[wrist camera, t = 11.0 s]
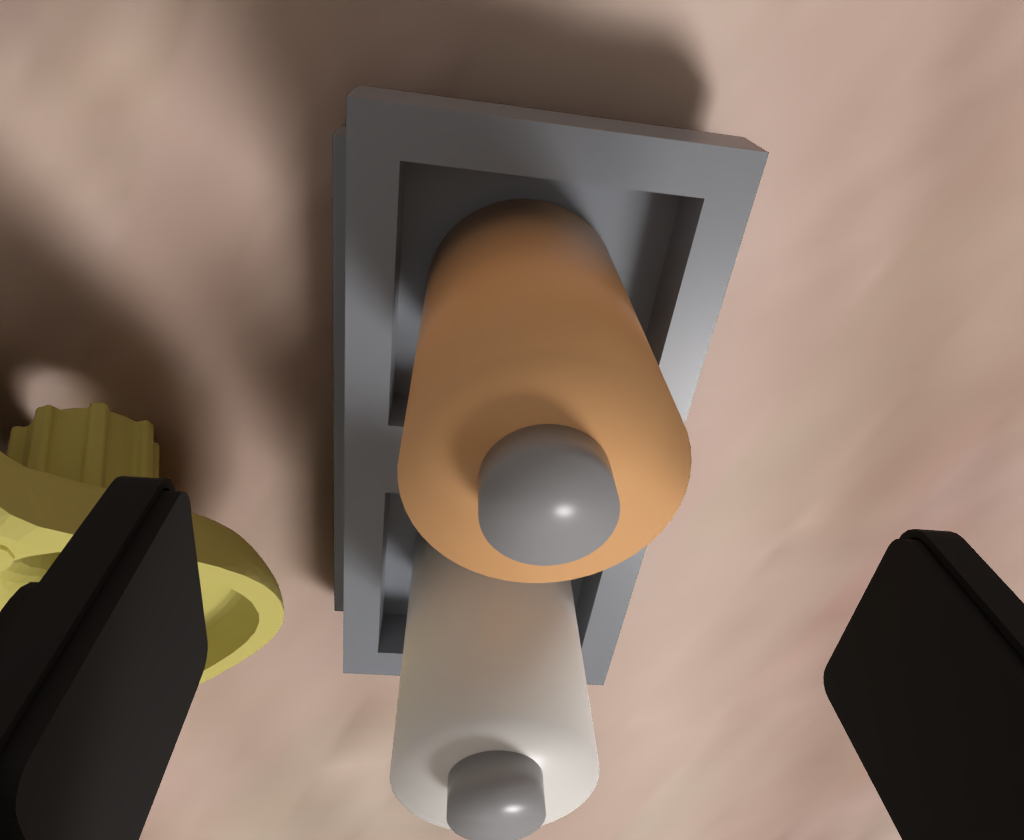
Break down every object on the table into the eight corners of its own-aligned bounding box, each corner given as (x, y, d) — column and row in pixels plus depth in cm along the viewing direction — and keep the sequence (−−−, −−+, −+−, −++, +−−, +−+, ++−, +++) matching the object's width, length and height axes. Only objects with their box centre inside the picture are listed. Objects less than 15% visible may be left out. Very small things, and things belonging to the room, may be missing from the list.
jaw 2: (551, 604, 22) (584, 873, 16) (410, 596, 22) (382, 869, 15) (576, 495, 20) (626, 756, 13) (418, 483, 19) (389, 747, 13)
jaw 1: (635, 213, 15) (748, 398, 9) (594, 384, 18) (660, 629, 11) (435, 186, 15) (401, 360, 8) (420, 366, 17) (384, 610, 11)
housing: (606, 623, 24) (618, 686, 22) (339, 608, 23) (326, 672, 21) (750, 131, 16) (793, 156, 14) (340, 75, 15) (317, 92, 13)
